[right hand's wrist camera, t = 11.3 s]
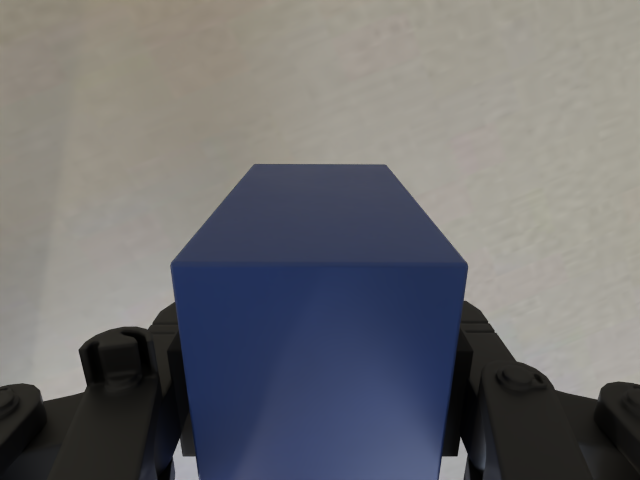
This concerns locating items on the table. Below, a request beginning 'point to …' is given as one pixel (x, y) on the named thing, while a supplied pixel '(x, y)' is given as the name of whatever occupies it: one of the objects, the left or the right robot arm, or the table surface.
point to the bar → (319, 328)
